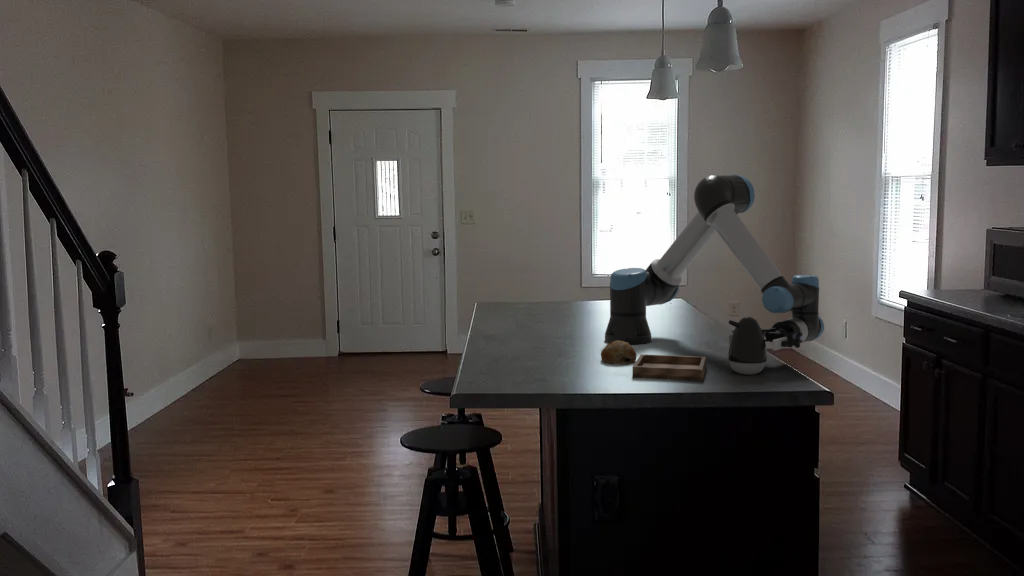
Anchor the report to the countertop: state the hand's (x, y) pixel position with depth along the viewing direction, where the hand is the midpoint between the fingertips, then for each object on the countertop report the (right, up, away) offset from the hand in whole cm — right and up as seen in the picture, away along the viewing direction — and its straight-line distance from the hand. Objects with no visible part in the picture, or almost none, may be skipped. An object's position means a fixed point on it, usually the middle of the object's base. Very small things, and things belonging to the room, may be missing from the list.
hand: (750, 342), depth 237 cm
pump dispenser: (-1, -8, +1) cm, 8 cm away
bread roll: (-33, -7, +19) cm, 39 cm away
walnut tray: (-21, -8, +2) cm, 23 cm away
